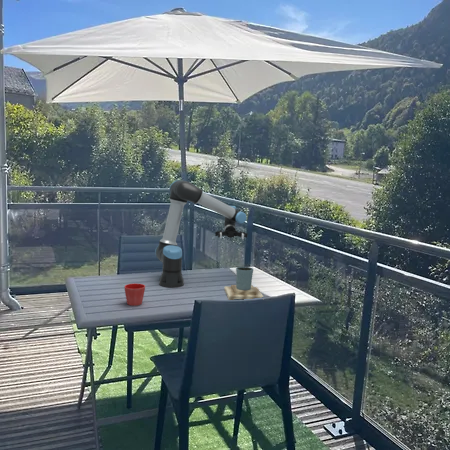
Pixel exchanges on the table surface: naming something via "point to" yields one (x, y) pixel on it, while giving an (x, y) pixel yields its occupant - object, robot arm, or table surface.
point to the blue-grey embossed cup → (244, 278)
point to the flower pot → (134, 294)
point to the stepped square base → (242, 293)
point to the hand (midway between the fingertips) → (232, 236)
